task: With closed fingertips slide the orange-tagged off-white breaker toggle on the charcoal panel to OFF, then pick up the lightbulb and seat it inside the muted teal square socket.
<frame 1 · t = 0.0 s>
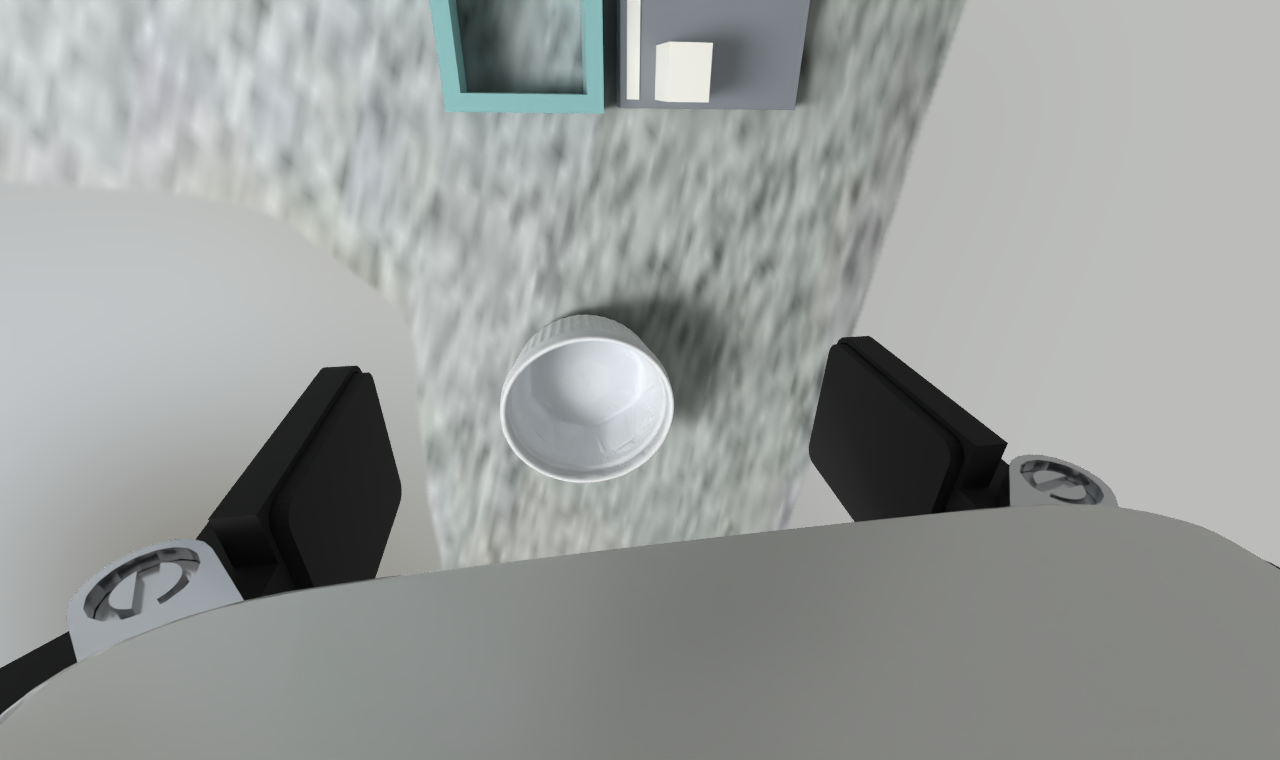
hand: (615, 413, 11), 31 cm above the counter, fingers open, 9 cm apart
socket: (520, 24, 33), on the counter
ramekin: (583, 371, 46), on the counter
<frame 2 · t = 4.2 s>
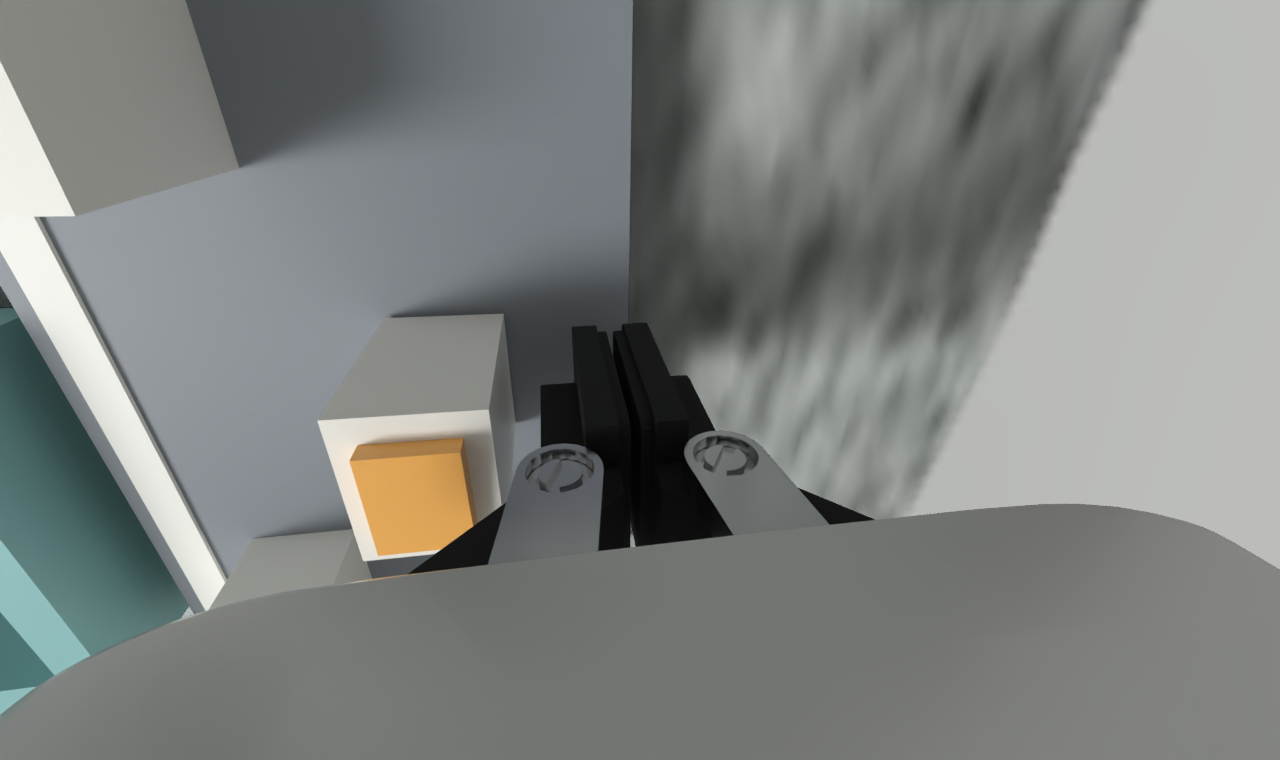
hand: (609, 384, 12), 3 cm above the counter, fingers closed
breaker panel: (389, 341, 14), on the counter
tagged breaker: (439, 429, 10), point 4 cm above the counter, slide at 0.1 cm, touching gripper
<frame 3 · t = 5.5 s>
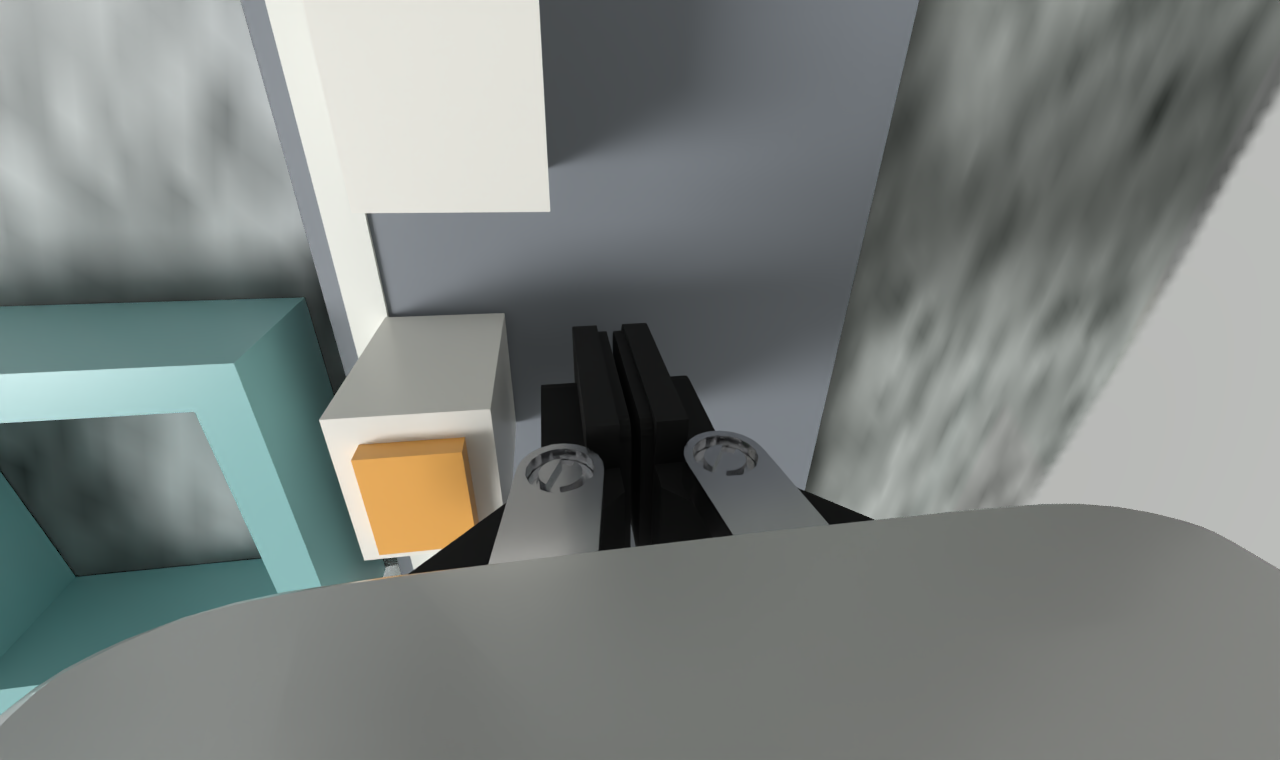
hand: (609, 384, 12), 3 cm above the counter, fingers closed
breaker panel: (601, 331, 15), on the counter
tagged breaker: (440, 428, 10), point 4 cm above the counter, slide at 5.6 cm, touching breaker panel, gripper
socket: (165, 467, 15), on the counter
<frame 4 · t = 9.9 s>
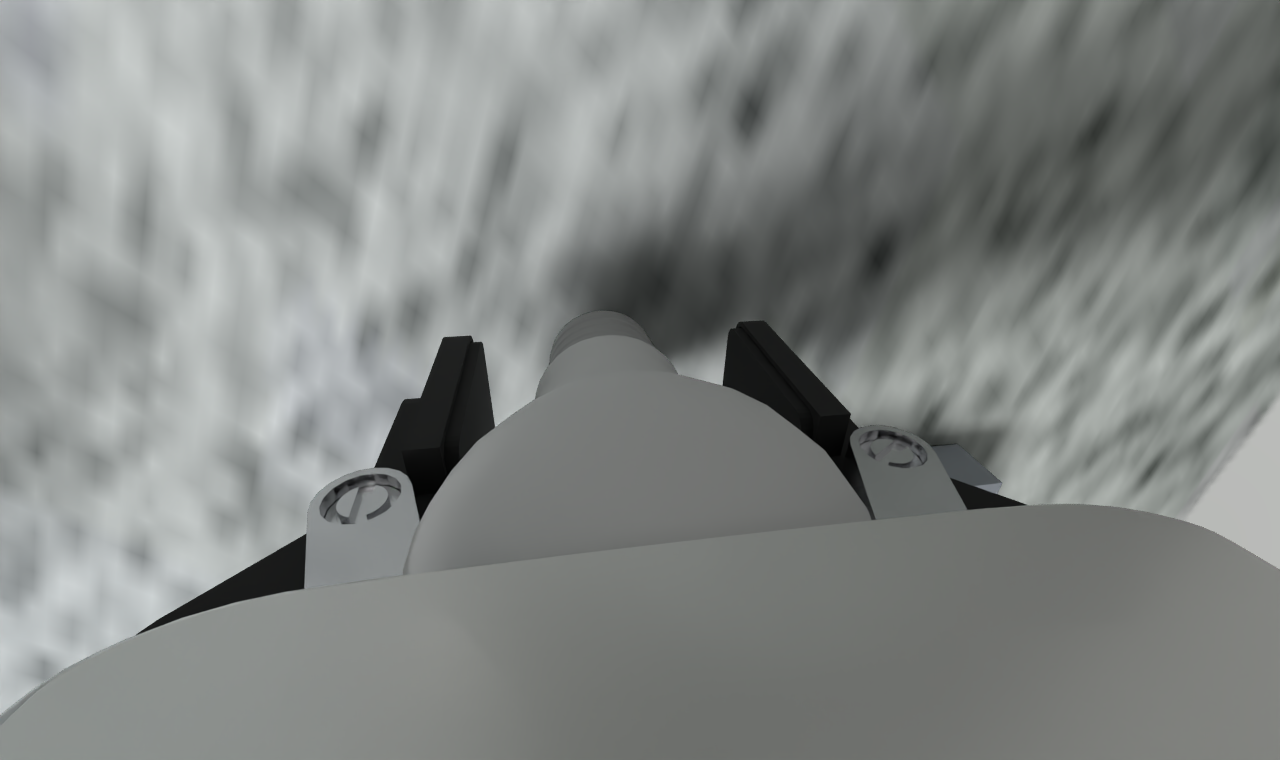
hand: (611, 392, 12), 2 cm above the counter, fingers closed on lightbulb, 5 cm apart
lightbulb: (599, 340, 14), on the counter, touching gripper
breaker panel: (758, 621, 21), on the counter
when the fingers open (4 cm above the counter, at t = 15.6 s): lightbulb drops 1 cm, on the counter.
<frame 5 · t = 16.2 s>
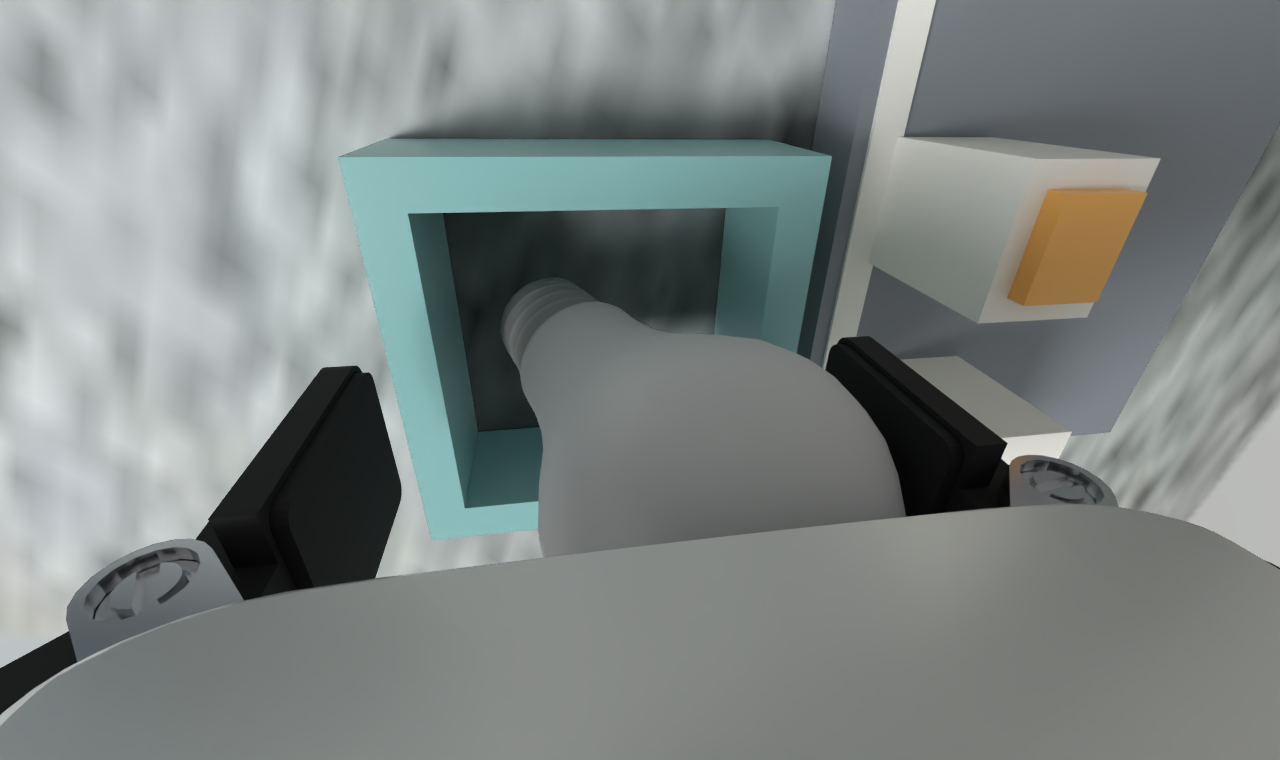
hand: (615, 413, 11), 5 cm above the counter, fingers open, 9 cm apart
lightbulb: (530, 304, 15), on the counter, touching gripper
breaker panel: (996, 186, 16), on the counter
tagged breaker: (992, 223, 11), point 4 cm above the counter, slide at 5.7 cm, touching breaker panel
socket: (593, 316, 16), on the counter
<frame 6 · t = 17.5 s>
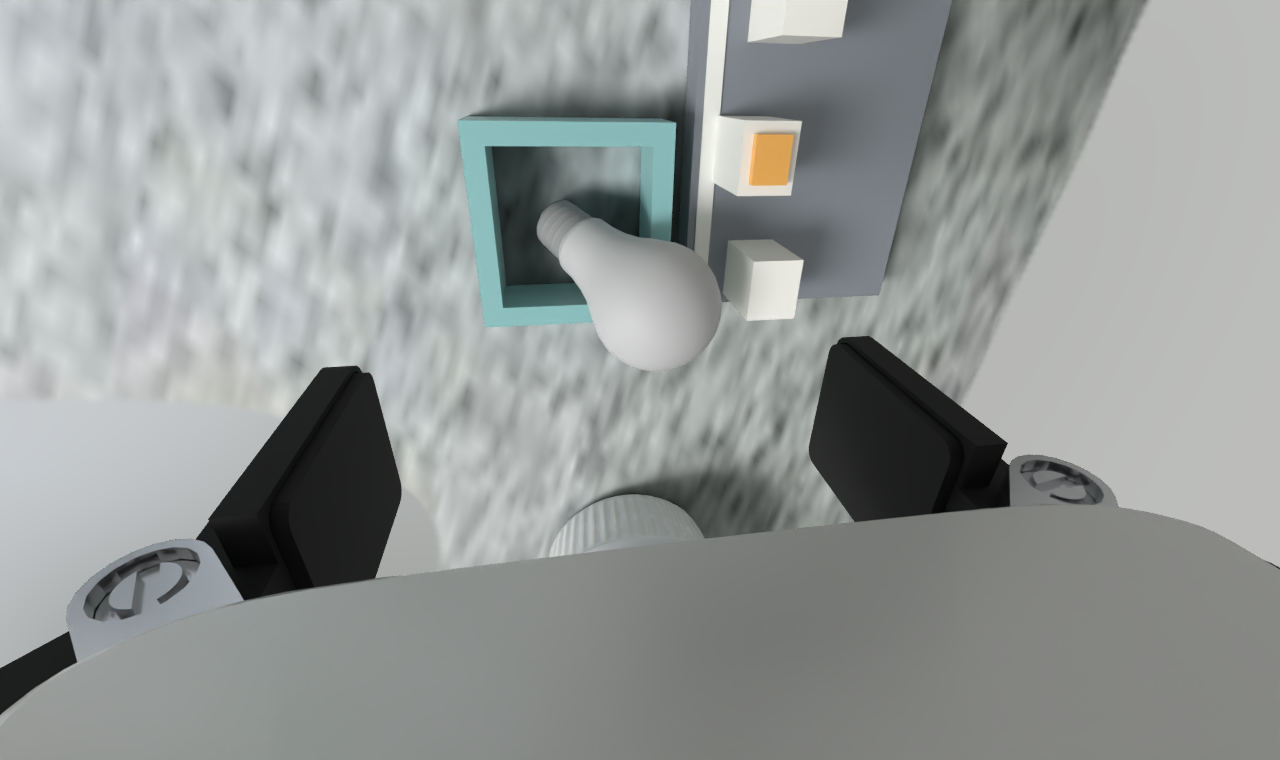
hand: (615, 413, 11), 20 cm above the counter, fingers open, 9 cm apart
lightbulb: (543, 211, 27), point 1 cm above the counter, touching socket
breaker panel: (791, 145, 29), on the counter
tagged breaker: (754, 154, 24), point 4 cm above the counter, slide at 5.7 cm, touching breaker panel
socket: (570, 215, 28), on the counter
ramekin: (623, 542, 41), on the counter
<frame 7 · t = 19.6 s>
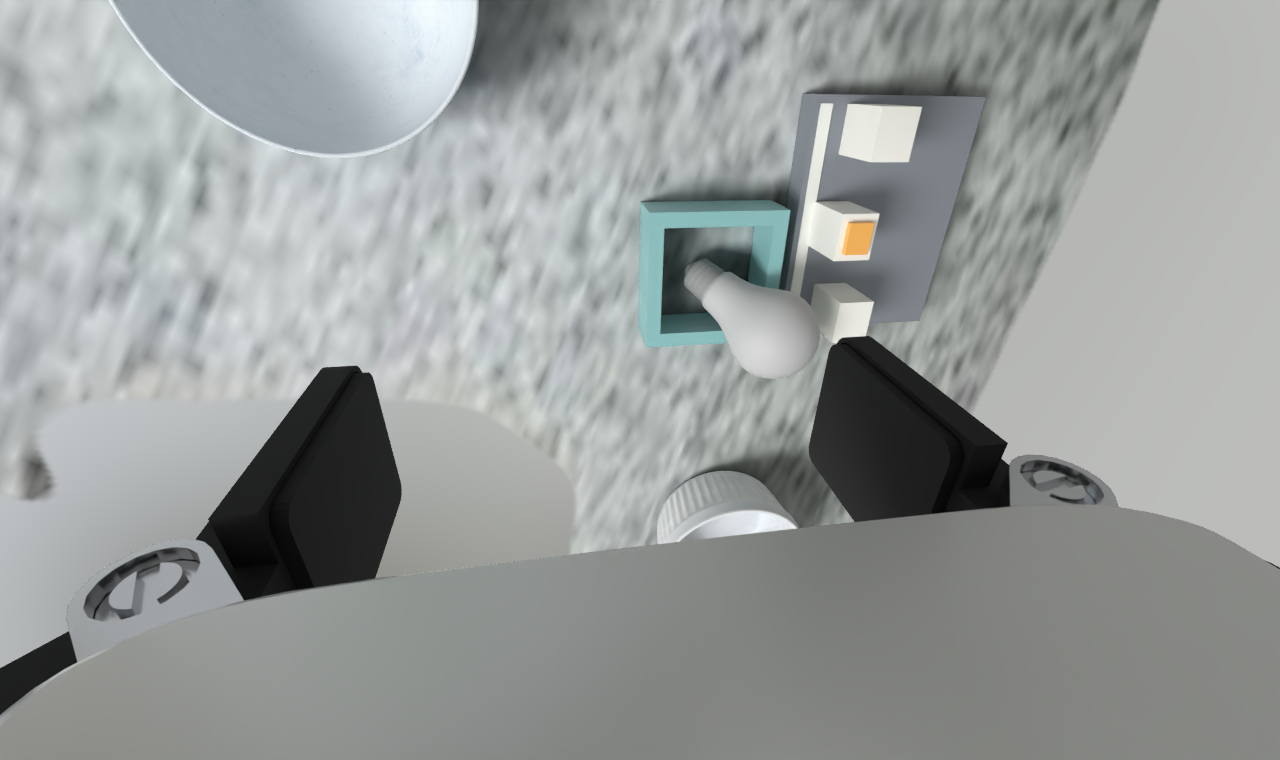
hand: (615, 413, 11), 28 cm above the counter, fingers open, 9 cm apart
lightbulb: (685, 265, 39), point 1 cm above the counter, touching socket
breaker panel: (860, 215, 40), on the counter
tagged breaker: (842, 230, 36), point 4 cm above the counter, slide at 5.7 cm, touching breaker panel
socket: (701, 266, 40), on the counter
ramekin: (711, 509, 53), on the counter
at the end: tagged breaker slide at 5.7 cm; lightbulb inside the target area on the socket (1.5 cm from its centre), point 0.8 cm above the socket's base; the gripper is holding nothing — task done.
